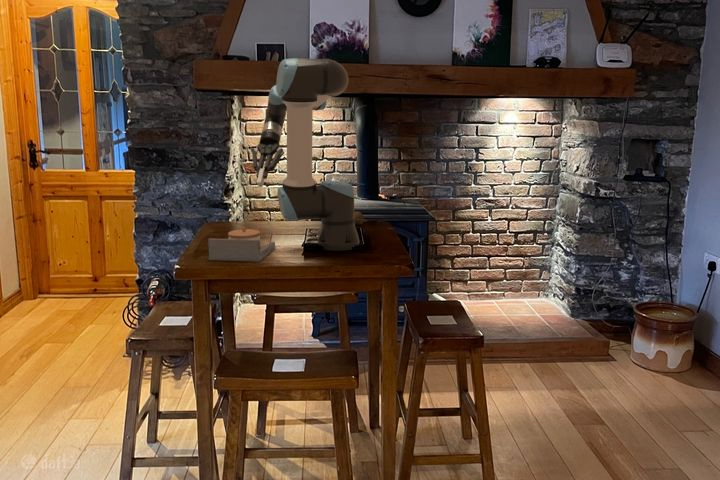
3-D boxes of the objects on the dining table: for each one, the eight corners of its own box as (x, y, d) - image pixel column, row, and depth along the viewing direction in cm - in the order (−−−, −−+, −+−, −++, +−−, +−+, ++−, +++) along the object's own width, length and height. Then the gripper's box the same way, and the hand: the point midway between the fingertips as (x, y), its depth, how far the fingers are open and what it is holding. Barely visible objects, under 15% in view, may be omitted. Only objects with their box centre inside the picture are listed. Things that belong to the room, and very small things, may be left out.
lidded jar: (254, 258, 214) (253, 231, 212) (224, 257, 216) (222, 230, 214) (265, 251, 224) (264, 224, 222) (236, 250, 226) (234, 224, 224)
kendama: (327, 223, 276) (371, 225, 268) (318, 228, 267) (363, 230, 260) (327, 210, 274) (371, 211, 267) (317, 214, 266) (362, 215, 258)
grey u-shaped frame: (275, 248, 228) (274, 229, 226) (259, 261, 210) (258, 240, 208) (229, 247, 230) (228, 228, 229) (209, 260, 213) (208, 239, 211)
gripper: (289, 143, 251) (279, 191, 238) (257, 143, 253) (245, 190, 240) (285, 129, 245) (274, 178, 232) (252, 130, 247) (239, 178, 234)
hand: (259, 184), depth 236 cm, fingers closed
